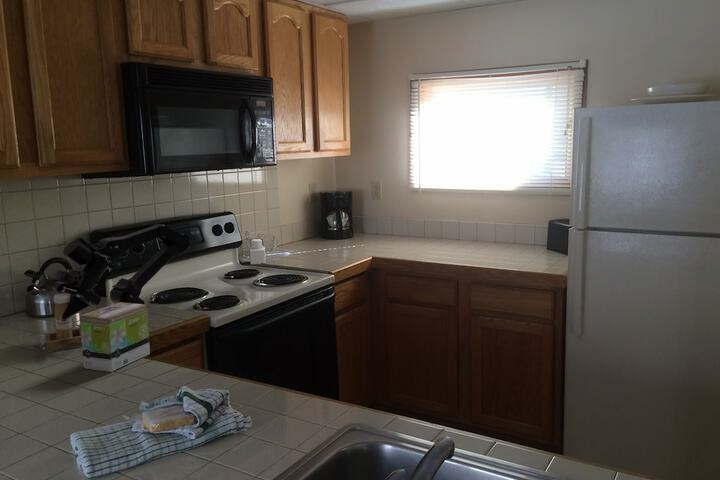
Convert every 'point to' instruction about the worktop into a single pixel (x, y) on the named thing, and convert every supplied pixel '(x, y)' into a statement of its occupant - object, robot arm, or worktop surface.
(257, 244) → the medicine bottle
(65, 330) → the sprinkles bottle
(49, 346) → the square wooden tray
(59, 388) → the worktop surface
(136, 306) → the tea box
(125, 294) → the robot arm
